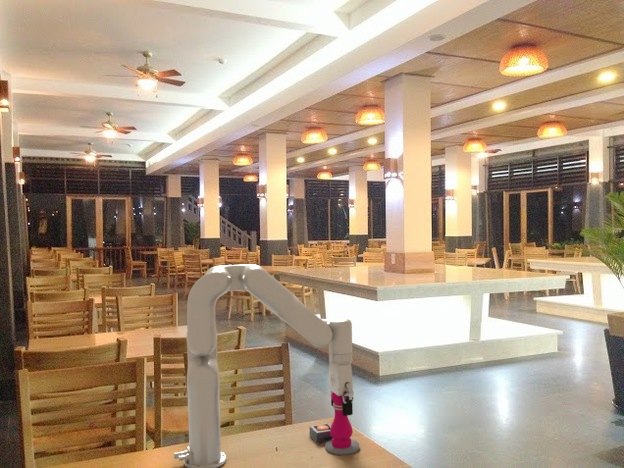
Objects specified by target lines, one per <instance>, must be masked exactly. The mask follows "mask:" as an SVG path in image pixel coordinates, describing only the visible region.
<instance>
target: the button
mask: <svg viewBox="0 0 624 468" xmlns="http://www.w3.org/2000/svg"><path fill="white" fill-rule="evenodd" d="M325 430H329V427H328V426H325V425H321V426H318V427H317V431H325Z"/></svg>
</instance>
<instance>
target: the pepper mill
mask: <svg viewBox="0 0 624 468" xmlns="http://www.w3.org/2000/svg"><path fill="white" fill-rule="evenodd" d="M344 393H348V392H344ZM346 397H347V396H345V398H346ZM331 398H332V400H333V402H334V403H333V406H332V408H333V409H334V417H333V419H332V420H333V421H332V422H331V424H330V425H331V428H330V434H331V436H332V437H333V439H332V446H333V447H335V448H339V449H344V448H348V447H350V446H351V439H352V438H351V437H352V436H353V426H352V424H351V422H350V419H349V415H348V416H343V412H342V403H344V402H343V399H342V395H341V396H338V395H336V394H335V393H334V392H332V395H331V394H330V399H331Z"/></svg>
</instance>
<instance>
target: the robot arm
mask: <svg viewBox="0 0 624 468" xmlns="http://www.w3.org/2000/svg"><path fill="white" fill-rule="evenodd" d="M238 291H239V292H240V291H246V292H248V293H249V294H250V295H252V297H254V298H255V299H256V300H257V301H259V302H260V303H261V304H262V305H263V306H265V307H266V308H267V309H268V310H269V311H271V312H272V313H273V314H274V315H275V316H277V318H278V319H280V320H281V321H283V322H284V323H286V324H287V325H288V326H290V327H291V328H292V329H293V330H295V331H296V332H297V333H298V334H299V335H301V337H303V338H304V339H305V340H306V341H307V342H309V343H310V344H311V345H312V346H314V347H317V348H326V347H327V346H328V363H329V364H328V389H329V390H330V396H331V395H332V392H334V393H335V394H336V395H338V396H341V395H342V399H343V402H344V403H342V412H343V416H348V417H349V416H352V415H353V413H354V412H353V411H354V410H353V403H354V390H353V389H354V384H353V383H354V382H353V371H352V370H353V369H352V363H353V326H352V325H353V324H352V321H351V320H350V319H349V318H346V317H344V318H343V317H341V318H340V317H339V318H336V317H335V318H331V319H330V318H328V319H327V318H320V317H319V316H318V315H317V314H315V313H314V312H313V311H312V310H310V309H309V308H308V307H307V305H305V304H303V303H302V301H301V300H300V299H299V298H298V297H297V296H296V294H294V293H293V292H292V291H290V290H289V289H288V288H287V287H286V286H284V285H283V284H282V283H281V282H280V281H279V280H277V279H276V277H274V276H273V275H272V274H270V272H268V271H267V270H266V269H264V268H263V267H262V266H260V265H259V264H254V263H250V264H249V263H248V264H247V263H246V264H233V265H232V264H228V265H216V266H215V265H214V266H212V267H210V268H209V269H207V270H206V272H205V273H204V275H203V276H201V277H200V278H198V279H197V280H196V281H195V283H194V284H193V285H192V287H191V288H190V291H189V293H188V296H187V297H188V298H187V305H186V306H187V309H186V311H187V313H186V314H187V315H186V316H187V318H186V320H187V322H186V323H187V324H186V325H187V326H186V329H187V331H186V338H185V339H186V351H187V372H186V390H187V391H186V392H187V415H188V440H189V441H188V446H187V447H186V449H184V450H183V451H175V452H173V459H174V460H177V459H178V461H179V462H180V461H184V463H183V464H184V466H185V467H186V468H220V467H221V466H222V465H224V464H225V463H226V461H227V456H226V454H225V452H223V451H222V449H221V447H222V446H221V445H222V443H221V437H222V436H221V411H220V410H221V409H220V370H219V363H218V331H217V328H216V323H217V322H216V315H217V313H216V306H217V305H216V304H217V302H218V299H220V298H221V296H224V295H225V294H226V293H228V292H238ZM344 392H348V393H344ZM345 396H347V397H346V398H345ZM330 399H331V400H330V404H331V407H333V403H334V402H333V400H332V398H331V397H330Z"/></svg>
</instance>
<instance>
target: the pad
mask: <svg viewBox="0 0 624 468" xmlns="http://www.w3.org/2000/svg"><path fill="white" fill-rule="evenodd" d="M324 446H325V451H326V452H328V453H329V454H332V455H336V456H349V455H354V454H356V453H357V452H359V450H360V443H359V442H358V441H357V440H355V439H352V438H351V446H350V447H348V448H344V449H339V448H335V447H333V446H332V440H330V441H328V442H325V444H324Z"/></svg>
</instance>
